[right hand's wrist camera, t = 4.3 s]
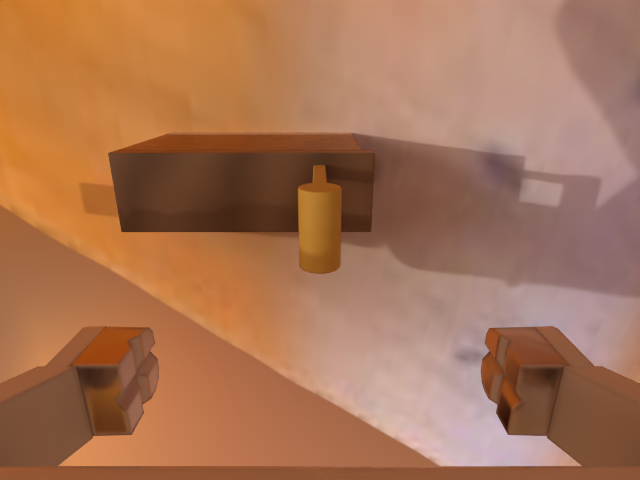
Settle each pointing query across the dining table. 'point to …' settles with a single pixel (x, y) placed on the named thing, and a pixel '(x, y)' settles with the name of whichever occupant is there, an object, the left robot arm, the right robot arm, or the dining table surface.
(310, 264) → the lid
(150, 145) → the chest
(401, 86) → the dining table surface
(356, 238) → the dining table surface
